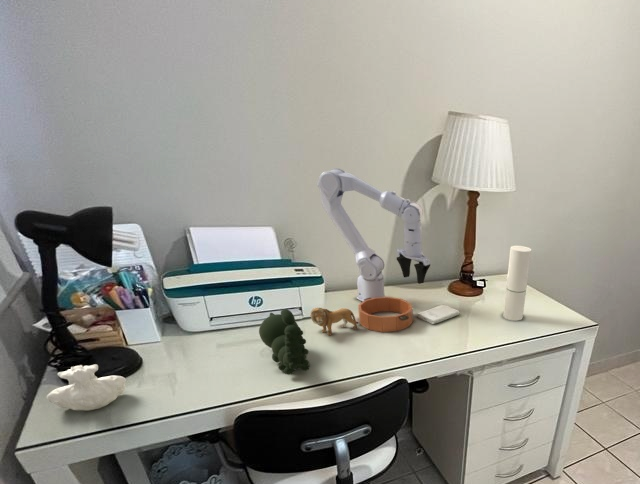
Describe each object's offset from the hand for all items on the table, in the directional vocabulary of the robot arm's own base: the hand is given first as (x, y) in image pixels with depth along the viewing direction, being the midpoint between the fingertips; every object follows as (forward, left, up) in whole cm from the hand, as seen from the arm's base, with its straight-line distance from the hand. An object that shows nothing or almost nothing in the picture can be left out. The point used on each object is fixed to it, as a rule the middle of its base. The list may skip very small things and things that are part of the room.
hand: (413, 279), depth 146 cm
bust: (+2, -88, -10) cm, 89 cm away
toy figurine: (+10, -51, -10) cm, 53 cm away
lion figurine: (+2, -33, -10) cm, 34 cm away
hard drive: (+13, 0, -10) cm, 16 cm away
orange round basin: (+5, -16, -9) cm, 19 cm away
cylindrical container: (+30, +21, -10) cm, 38 cm away
